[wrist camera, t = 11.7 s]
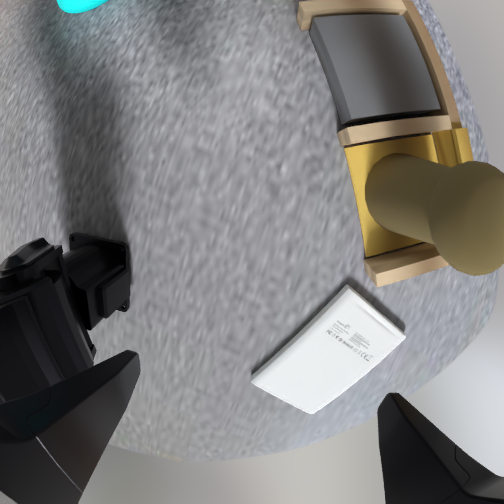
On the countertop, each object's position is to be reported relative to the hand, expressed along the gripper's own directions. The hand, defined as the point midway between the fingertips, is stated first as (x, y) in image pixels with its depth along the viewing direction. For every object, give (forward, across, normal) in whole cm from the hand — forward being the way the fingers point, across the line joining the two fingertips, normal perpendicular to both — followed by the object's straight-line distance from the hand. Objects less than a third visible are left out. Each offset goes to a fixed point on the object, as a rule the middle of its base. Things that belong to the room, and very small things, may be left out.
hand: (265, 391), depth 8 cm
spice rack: (+13, -6, -11) cm, 18 cm away
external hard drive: (+14, -7, +8) cm, 17 cm away
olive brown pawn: (+13, -8, -7) cm, 17 cm away
